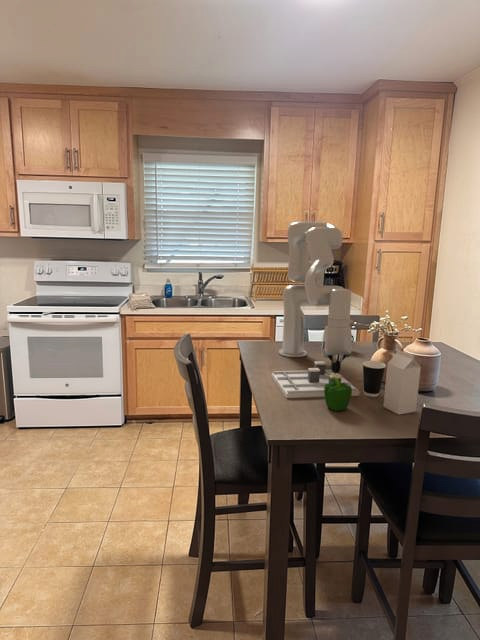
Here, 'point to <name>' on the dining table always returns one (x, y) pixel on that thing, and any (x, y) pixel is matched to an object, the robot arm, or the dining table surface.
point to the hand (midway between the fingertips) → (335, 372)
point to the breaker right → (336, 377)
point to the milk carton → (402, 383)
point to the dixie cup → (372, 377)
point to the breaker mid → (313, 374)
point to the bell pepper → (337, 395)
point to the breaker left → (320, 366)
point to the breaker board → (305, 384)
